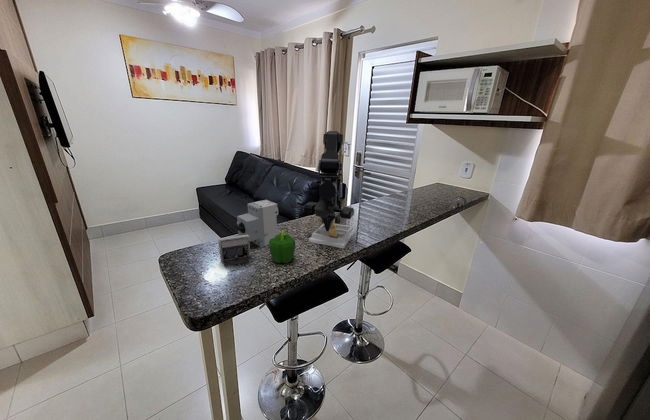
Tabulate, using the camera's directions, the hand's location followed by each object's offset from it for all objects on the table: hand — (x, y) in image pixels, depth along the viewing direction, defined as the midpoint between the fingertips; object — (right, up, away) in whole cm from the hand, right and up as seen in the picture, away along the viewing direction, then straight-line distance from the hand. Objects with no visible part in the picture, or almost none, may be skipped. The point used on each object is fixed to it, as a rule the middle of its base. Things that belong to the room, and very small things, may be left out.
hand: (327, 230), depth 97 cm
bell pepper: (-15, -9, -14) cm, 22 cm away
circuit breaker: (-26, -5, -2) cm, 27 cm away
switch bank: (+2, -3, +5) cm, 6 cm away
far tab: (+2, 0, +8) cm, 9 cm away
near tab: (+2, -3, 0) cm, 3 cm away
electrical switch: (-30, -9, -15) cm, 35 cm away
